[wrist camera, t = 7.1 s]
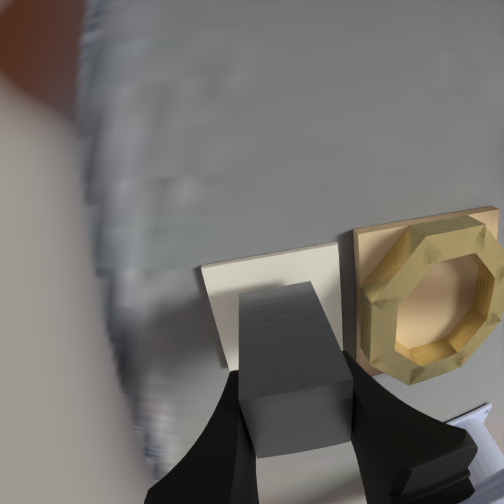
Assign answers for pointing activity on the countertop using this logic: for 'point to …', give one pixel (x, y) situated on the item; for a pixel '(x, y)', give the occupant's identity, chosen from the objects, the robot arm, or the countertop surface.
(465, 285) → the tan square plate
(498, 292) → the collar
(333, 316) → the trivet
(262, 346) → the steel block
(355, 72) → the countertop surface
